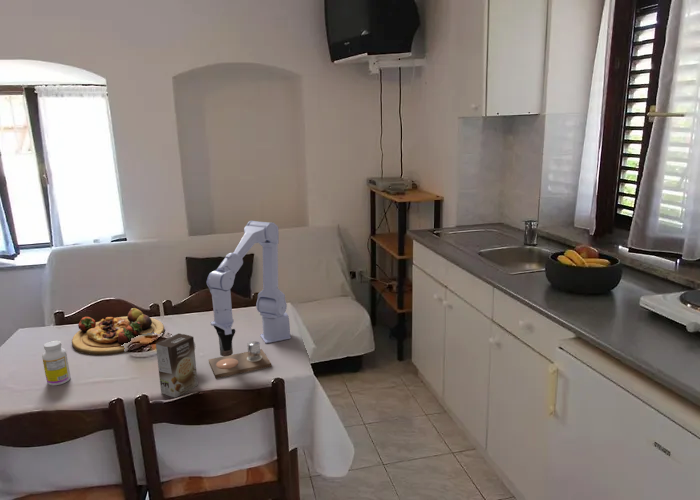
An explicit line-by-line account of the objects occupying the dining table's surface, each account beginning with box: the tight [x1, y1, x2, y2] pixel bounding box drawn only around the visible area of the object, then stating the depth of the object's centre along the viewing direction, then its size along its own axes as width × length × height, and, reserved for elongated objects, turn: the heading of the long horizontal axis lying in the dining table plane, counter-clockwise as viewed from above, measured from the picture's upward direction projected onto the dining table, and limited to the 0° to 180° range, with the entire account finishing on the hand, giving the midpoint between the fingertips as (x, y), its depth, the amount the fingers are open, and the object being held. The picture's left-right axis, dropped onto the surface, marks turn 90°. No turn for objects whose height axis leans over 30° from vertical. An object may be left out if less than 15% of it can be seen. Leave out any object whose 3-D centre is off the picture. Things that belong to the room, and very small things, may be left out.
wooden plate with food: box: [71, 307, 165, 356], centre depth 204 cm, size 32×32×8 cm
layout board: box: [208, 340, 272, 379], centre depth 179 cm, size 18×12×6 cm, turn 114°
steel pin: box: [218, 337, 234, 357], centre depth 177 cm, size 4×4×7 cm
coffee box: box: [155, 333, 199, 398], centre depth 163 cm, size 9×6×16 cm
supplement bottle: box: [41, 340, 71, 387], centre depth 170 cm, size 7×7×13 cm
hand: (225, 347), depth 177 cm, fingers closed on steel pin, 4 cm apart
